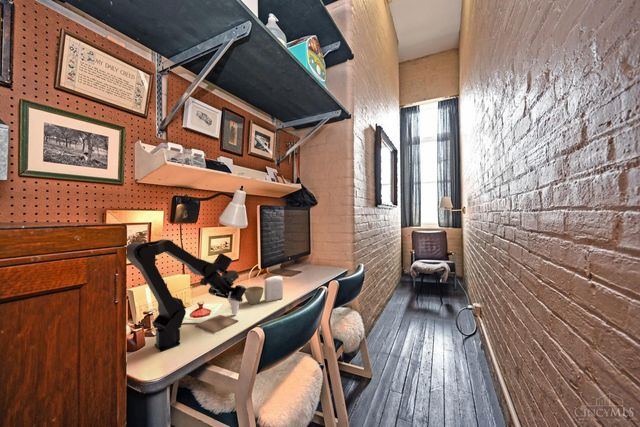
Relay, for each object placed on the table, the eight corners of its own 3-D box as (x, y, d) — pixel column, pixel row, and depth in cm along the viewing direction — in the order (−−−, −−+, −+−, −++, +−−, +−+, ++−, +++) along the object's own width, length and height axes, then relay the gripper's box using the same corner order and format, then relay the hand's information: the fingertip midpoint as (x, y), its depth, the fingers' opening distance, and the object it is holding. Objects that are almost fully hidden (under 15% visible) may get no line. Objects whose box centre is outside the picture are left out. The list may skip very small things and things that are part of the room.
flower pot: (248, 299, 139) (248, 286, 139) (266, 299, 138) (266, 286, 138) (240, 305, 129) (240, 291, 129) (259, 306, 128) (259, 292, 128)
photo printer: (280, 296, 143) (280, 274, 143) (284, 298, 139) (284, 276, 139) (263, 300, 137) (263, 277, 137) (266, 302, 133) (266, 278, 133)
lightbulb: (237, 318, 114) (237, 293, 113) (225, 316, 115) (225, 292, 115) (244, 312, 119) (244, 289, 119) (232, 311, 121) (232, 288, 121)
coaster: (214, 333, 99) (214, 331, 99) (195, 326, 105) (195, 324, 105) (238, 321, 110) (238, 320, 110) (219, 316, 116) (219, 314, 116)
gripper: (242, 268, 109) (260, 287, 119) (214, 263, 118) (232, 281, 128) (227, 291, 102) (248, 309, 112) (198, 284, 112) (219, 302, 121)
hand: (237, 299), depth 118 cm, fingers closed on lightbulb, 6 cm apart
